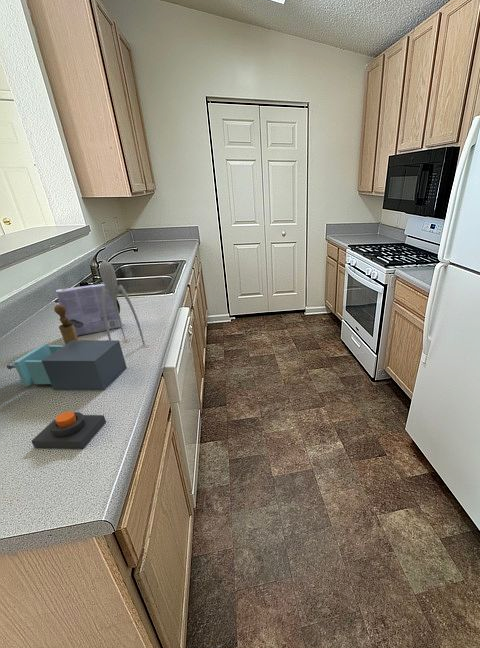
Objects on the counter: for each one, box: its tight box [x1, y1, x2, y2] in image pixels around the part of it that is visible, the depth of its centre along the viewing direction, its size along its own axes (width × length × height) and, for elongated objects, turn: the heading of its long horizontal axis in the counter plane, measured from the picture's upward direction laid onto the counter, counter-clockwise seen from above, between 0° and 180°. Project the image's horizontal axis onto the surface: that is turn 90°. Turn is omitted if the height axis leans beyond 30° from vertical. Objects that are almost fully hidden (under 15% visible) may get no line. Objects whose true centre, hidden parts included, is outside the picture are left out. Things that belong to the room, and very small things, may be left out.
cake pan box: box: [55, 283, 123, 337], centre depth 127 cm, size 19×5×18 cm, turn 123°
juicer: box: [98, 260, 146, 346], centre depth 111 cm, size 10×9×30 cm
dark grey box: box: [42, 339, 128, 392], centre depth 96 cm, size 15×13×10 cm
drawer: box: [6, 343, 65, 387], centre depth 97 cm, size 18×11×8 cm, turn 88°
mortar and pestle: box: [53, 304, 79, 345], centre depth 107 cm, size 7×6×18 cm
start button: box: [54, 411, 76, 427], centre depth 75 cm, size 4×4×2 cm
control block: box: [30, 411, 107, 450], centre depth 76 cm, size 11×9×4 cm
